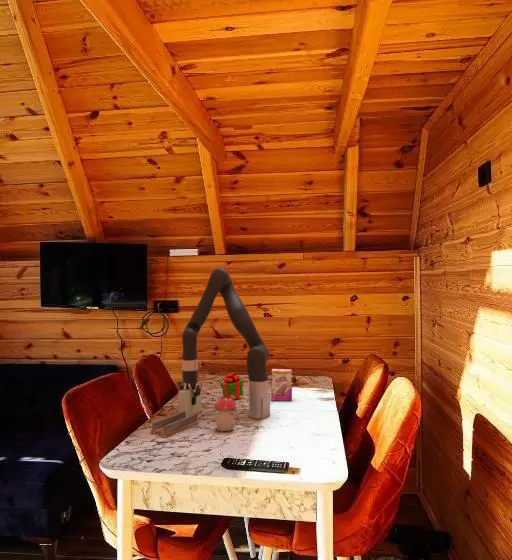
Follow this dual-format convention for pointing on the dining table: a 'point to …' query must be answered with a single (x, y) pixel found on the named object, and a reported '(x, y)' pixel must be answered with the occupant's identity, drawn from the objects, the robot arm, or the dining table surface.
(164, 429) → the door track
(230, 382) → the gift box
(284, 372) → the candy bar box
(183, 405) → the door panel
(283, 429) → the dining table surface
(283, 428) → the dining table surface
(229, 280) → the robot arm
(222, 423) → the decorative ornament
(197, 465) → the dining table surface
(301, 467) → the dining table surface
